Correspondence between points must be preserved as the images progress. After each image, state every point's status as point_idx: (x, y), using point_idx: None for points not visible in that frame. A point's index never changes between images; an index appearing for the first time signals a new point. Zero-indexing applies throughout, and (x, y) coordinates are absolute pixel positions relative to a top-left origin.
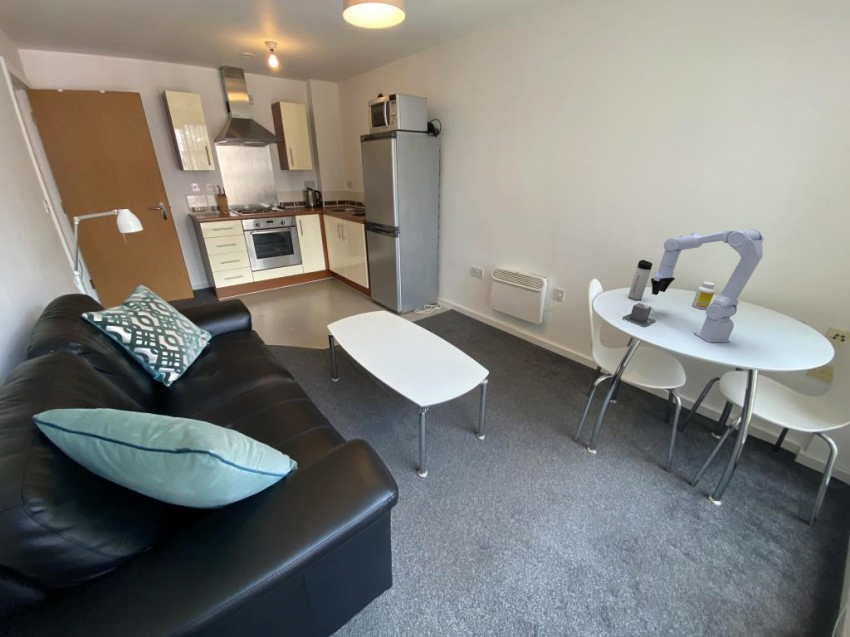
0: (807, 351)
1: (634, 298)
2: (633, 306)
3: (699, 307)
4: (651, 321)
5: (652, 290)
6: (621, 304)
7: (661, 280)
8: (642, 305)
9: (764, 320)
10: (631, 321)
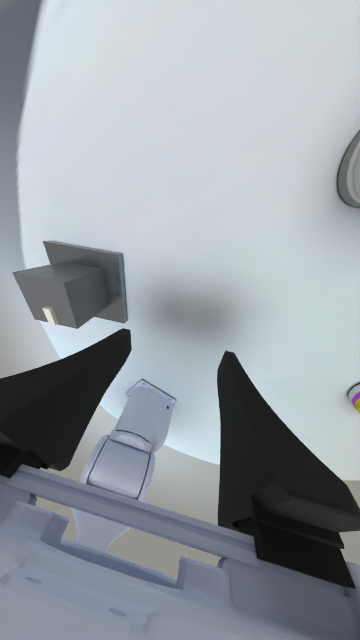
0: (211, 456)
1: (346, 167)
2: (18, 272)
3: (351, 394)
4: (104, 316)
5: (106, 340)
6: (196, 149)
7: (37, 465)
8: (54, 300)
9: (331, 457)
10: None
